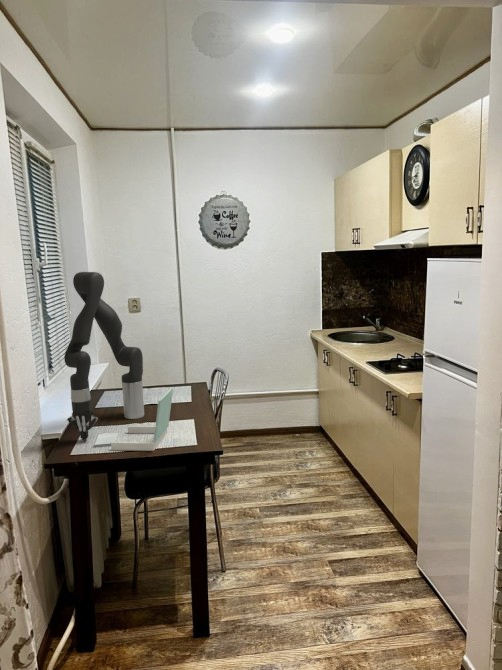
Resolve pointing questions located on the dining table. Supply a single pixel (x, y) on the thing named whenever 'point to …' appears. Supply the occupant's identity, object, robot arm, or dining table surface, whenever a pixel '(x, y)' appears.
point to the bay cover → (163, 414)
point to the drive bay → (139, 445)
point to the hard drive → (105, 439)
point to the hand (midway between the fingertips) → (84, 439)
